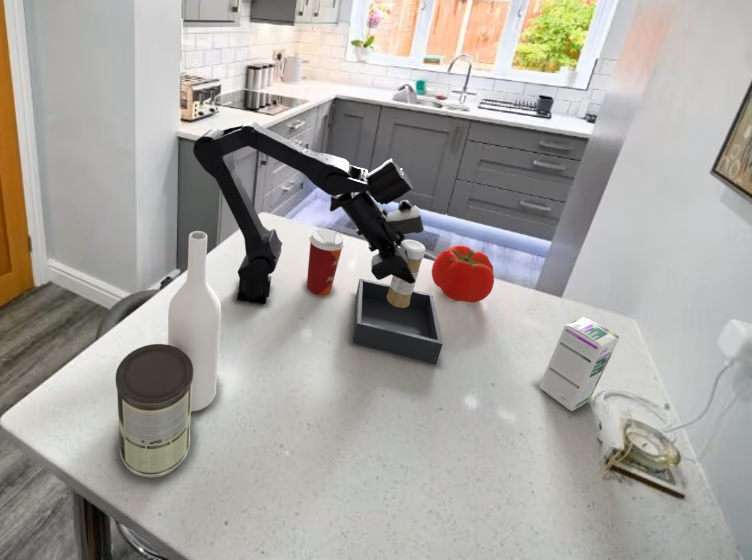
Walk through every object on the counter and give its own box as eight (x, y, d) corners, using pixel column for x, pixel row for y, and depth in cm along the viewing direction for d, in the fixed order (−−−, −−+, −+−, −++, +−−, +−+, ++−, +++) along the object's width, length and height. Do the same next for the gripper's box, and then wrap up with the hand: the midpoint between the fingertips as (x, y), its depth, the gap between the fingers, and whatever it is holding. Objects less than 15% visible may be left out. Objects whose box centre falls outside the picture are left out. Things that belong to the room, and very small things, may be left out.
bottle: (205, 418, 68) (215, 256, 57) (158, 403, 70) (159, 242, 59) (222, 379, 76) (234, 228, 64) (179, 366, 78) (183, 217, 66)
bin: (352, 343, 86) (356, 323, 84) (355, 296, 100) (359, 278, 98) (436, 364, 82) (443, 344, 80) (427, 312, 96) (433, 294, 94)
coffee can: (105, 440, 64) (101, 368, 59) (163, 401, 71) (164, 332, 66) (144, 495, 57) (143, 419, 52) (204, 446, 64) (209, 374, 59)
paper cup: (338, 299, 98) (348, 246, 93) (304, 297, 98) (312, 244, 93) (331, 279, 106) (341, 228, 100) (300, 277, 105) (307, 226, 100)
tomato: (439, 269, 113) (450, 234, 109) (494, 294, 105) (508, 256, 101) (417, 290, 104) (428, 253, 100) (476, 319, 95) (490, 279, 91)
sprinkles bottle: (386, 292, 91) (400, 236, 86) (408, 297, 90) (424, 241, 85) (386, 305, 87) (401, 248, 82) (410, 311, 86) (427, 253, 81)
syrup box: (572, 412, 74) (605, 347, 69) (537, 386, 79) (565, 323, 74) (589, 401, 77) (622, 337, 71) (554, 376, 82) (583, 314, 76)
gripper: (406, 215, 72) (459, 286, 74) (400, 176, 89) (444, 235, 91) (350, 246, 77) (400, 311, 79) (354, 203, 94) (396, 258, 96)
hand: (412, 276), depth 86 cm, fingers closed on sprinkles bottle, 4 cm apart
